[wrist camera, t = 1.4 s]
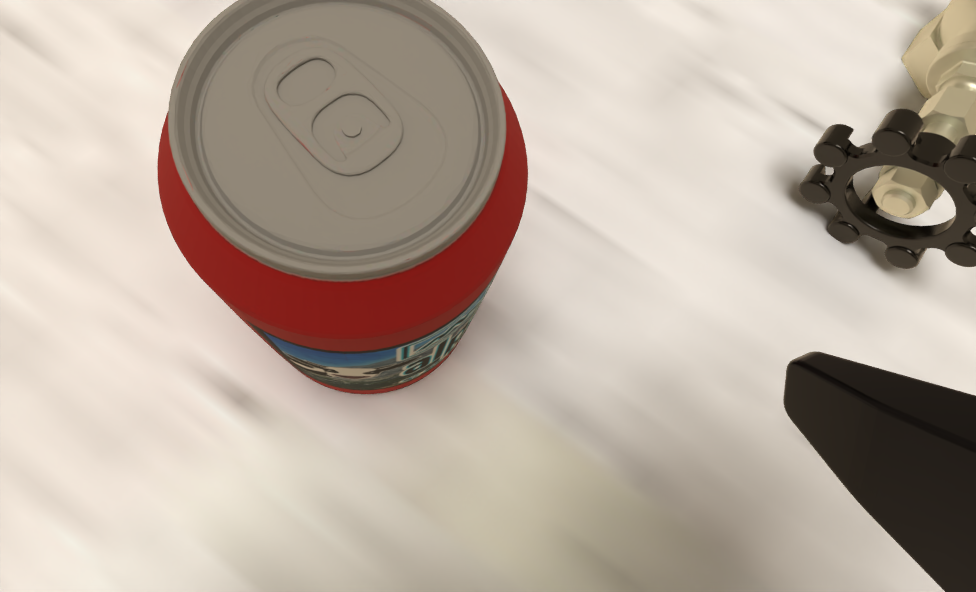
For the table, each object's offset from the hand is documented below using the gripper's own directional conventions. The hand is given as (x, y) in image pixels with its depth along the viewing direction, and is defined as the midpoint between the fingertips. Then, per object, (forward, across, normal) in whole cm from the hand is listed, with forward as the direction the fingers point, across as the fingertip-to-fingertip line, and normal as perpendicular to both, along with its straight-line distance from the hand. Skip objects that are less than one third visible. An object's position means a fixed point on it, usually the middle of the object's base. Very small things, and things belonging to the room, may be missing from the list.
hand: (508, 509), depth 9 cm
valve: (+13, -22, +6) cm, 26 cm away
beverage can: (+14, 0, +5) cm, 15 cm away
